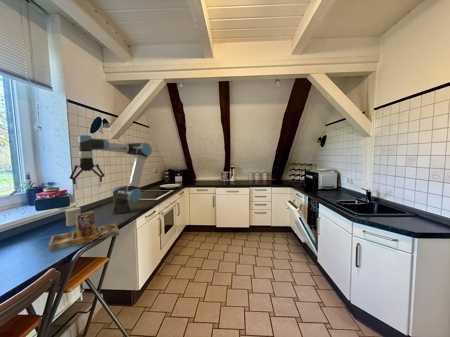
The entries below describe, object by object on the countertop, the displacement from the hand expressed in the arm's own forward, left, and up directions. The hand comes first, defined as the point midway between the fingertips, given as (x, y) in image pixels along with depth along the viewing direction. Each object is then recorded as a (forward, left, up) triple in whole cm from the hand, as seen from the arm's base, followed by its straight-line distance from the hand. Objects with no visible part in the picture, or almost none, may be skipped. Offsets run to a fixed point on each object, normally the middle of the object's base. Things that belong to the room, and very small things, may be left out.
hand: (88, 187), depth 140 cm
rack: (+3, +21, -29) cm, 36 cm away
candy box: (+3, +21, -28) cm, 35 cm away
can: (+10, -15, -29) cm, 34 cm away
